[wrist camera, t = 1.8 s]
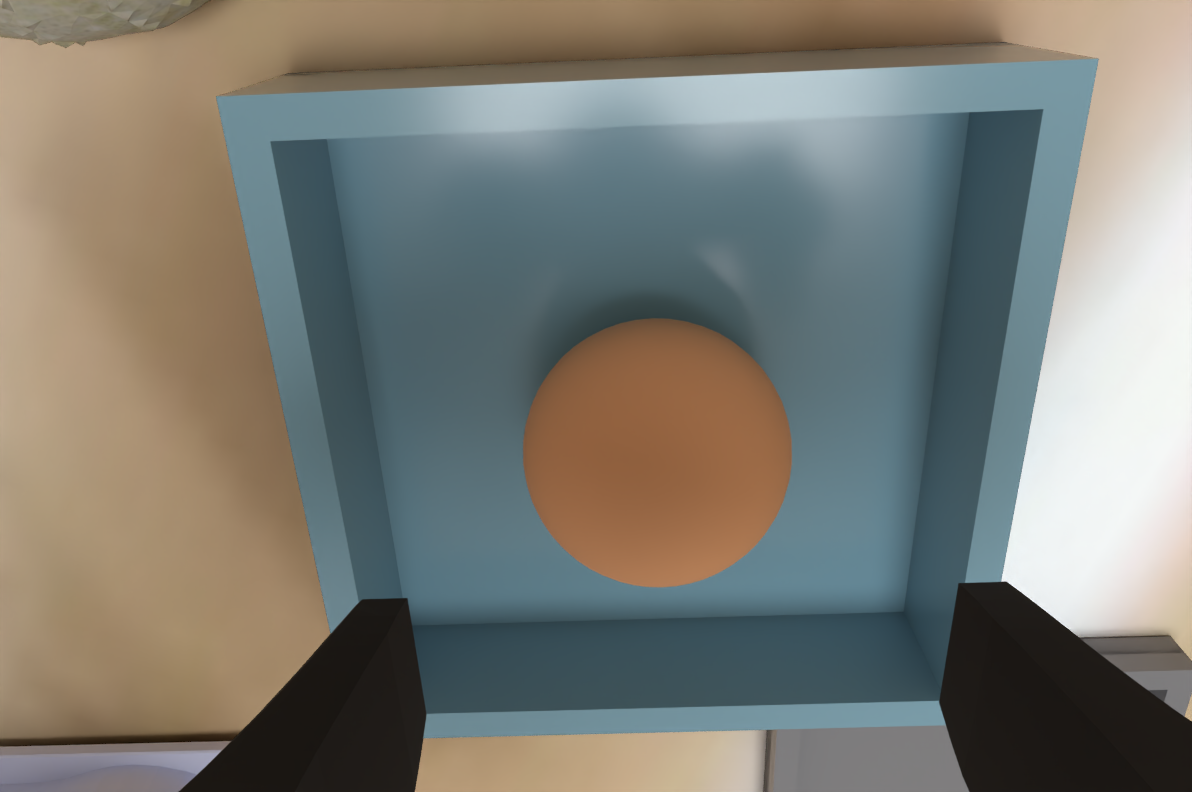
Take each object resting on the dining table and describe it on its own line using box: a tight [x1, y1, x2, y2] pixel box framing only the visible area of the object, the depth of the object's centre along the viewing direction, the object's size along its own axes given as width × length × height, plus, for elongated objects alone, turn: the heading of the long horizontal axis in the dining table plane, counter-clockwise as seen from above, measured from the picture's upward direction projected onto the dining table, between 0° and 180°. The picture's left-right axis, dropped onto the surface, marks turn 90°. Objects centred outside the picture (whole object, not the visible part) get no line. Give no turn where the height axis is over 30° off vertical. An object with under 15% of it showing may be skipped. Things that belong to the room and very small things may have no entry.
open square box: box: [216, 42, 1099, 738], centre depth 18 cm, size 13×13×4 cm
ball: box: [523, 318, 792, 587], centre depth 17 cm, size 5×5×5 cm
